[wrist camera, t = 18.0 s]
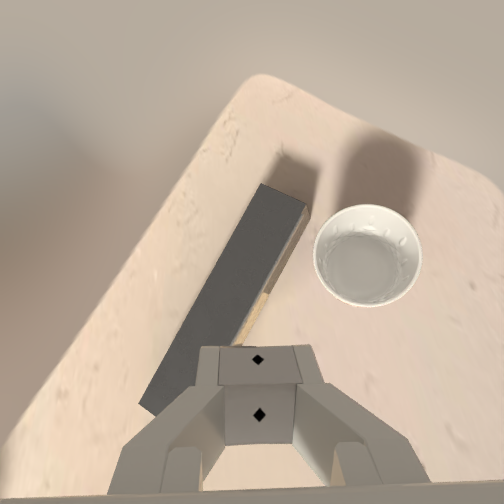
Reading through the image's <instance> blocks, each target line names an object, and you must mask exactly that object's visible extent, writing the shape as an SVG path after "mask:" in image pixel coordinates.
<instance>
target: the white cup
mask: <svg viewBox="0 0 504 504" xmlns="http://www.w3.org/2000/svg"><path fill="white" fill-rule="evenodd" d="M422 260H423V253H422V246H421V242H420V239H419V237H418V234H417V233H416V231H415V229H414V228H413V226H412V225H411V224H410V223H409V221H408V220H407V219H405V218H404V217H403V216H402V215H400V214H399V213H397V212H396V211H394V210H392V209H390V208H387V207H384V206H380V205H375V204H359V205H353V206H350V207H347V208H344V209H342V210H340V211H338V212H337V213H335V214H334V215H333V216H331V217H330V218H329V219H328V220H327V221H326V222H325V223H324V224H323V226H322V227H321V229H320V230H319V232H318V234H317V236H316V239H315V242H314V247H313V262H314V267H315V270H316V273H317V275H318V277H319V279H320V281H321V283H322V284H323V285H324V287H325V288H326V289H327V290H328V291H329V292H330V293H331V294H332V295H333V296H334V297H335V298H337V299H338V300H340V301H342V302H343V303H346V304H348V305H351V306H355V307H376V306H382V305H386V304H389V303H391V302H393V301H395V300H397V299H399V298H400V297H402V296H403V295H404V294H405V293H407V292H408V291H409V290H410V288H411V287H412V286H413V285H414V283H415V282H416V280H417V278H418V276H419V273H420V270H421V267H422Z"/></svg>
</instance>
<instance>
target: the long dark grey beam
mask: <svg viewBox="0 0 504 504" xmlns="http://www.w3.org/2000/svg"><path fill="white" fill-rule="evenodd" d="M309 220H310V216H309V212H308V208H307V205H306V204H305V203H303V202H301V201H299V200H297V199H294V198H292V197H290V196H288V195H286V194H283V193H281V192H279V191H277V190H275V189H273V188H270V187H268V186H266V185H264V184H262V183H261V184H260V186H259V188H258V189H257V191H256V193H255V195H254V197H253V198H252V200H251V202H250V204H249V206H248V207H247V209H246V211H245V213H244V215H243V216H242V218H241V220H240V222H239V224H238V225H237V227H236V229H235V231H234V232H233V234H232V236H231V238H230V240H229V241H228V243H227V245H226V247H225V249H224V250H223V252H222V254H221V256H220V258H219V259H218V261H217V263H216V265H215V267H214V268H213V270H212V272H211V274H210V276H209V277H208V279H207V281H206V283H205V285H204V286H203V288H202V290H201V292H200V294H199V295H198V297H197V299H196V301H195V303H194V304H193V306H192V308H191V310H190V312H189V313H188V315H187V317H186V319H185V321H184V322H183V324H182V326H181V328H180V330H179V331H178V333H177V335H176V337H175V339H174V340H173V342H172V344H171V346H170V348H169V349H168V351H167V353H166V355H165V357H164V358H163V360H162V362H161V364H160V366H159V367H158V369H157V371H156V373H155V375H154V376H153V378H152V380H151V382H150V384H149V385H148V387H147V389H146V391H145V393H144V394H143V396H142V398H141V400H140V402H139V403H138V404H140V405H141V406H142V407H144V408H145V409H146V410H148V411H149V412H150V413H152V414H153V415H154V416H158V415H159V414H160V413H161V412H162V411H163V410H164V409H165V408H166V407H167V406H168V405H170V404H171V403H172V402H173V401H174V400H175V399H176V398H177V397H178V396H179V395H181V394H182V393H183V392H184V391H185V390H186V389H187V388H188V387H189V386H195V383H196V376H197V368H198V361H199V354H200V348H201V347H202V346H219V347H220V346H242V344H243V342H244V341H245V339H246V337H247V335H248V333H249V331H250V330H251V328H252V326H253V324H254V322H255V320H256V318H257V317H258V315H259V313H260V311H261V309H262V307H263V306H264V304H265V302H266V300H267V298H268V296H269V294H270V292H271V290H272V289H273V287H274V285H275V283H276V281H277V279H278V278H279V276H280V274H281V272H282V270H283V268H284V267H285V265H286V263H287V261H288V259H289V257H290V255H291V254H292V252H293V250H294V248H295V246H296V244H297V243H298V241H299V239H300V237H301V235H302V233H303V232H304V230H305V228H306V226H307V224H308V222H309Z"/></svg>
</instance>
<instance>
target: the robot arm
mask: <svg viewBox="0 0 504 504" xmlns="http://www.w3.org/2000/svg"><path fill="white" fill-rule="evenodd" d="M248 444H292V446H293V447H294V448H295V449H296V450H297V452H298V453H299V454H300V455H301V457H302V458H303V459H304V460H305V462H306V463H307V464H308V465H309V466H310V468H311V469H312V470H313V471H314V473H315V474H316V475H317V476H318V477H319V479H320V480H321V481H322V482H323V484H324V485H325V486H323V487H297V488H272V489H246V490H221V491H203V481H204V480H205V478H206V477H207V475H208V473H209V472H210V470H211V469H212V467H213V466H214V464H215V463H216V461H217V459H218V458H219V456H220V455H221V453H222V452H223V450H224V449H225V446H231V445H248ZM0 504H504V480H487V481H462V482H434V483H431V481H430V479H429V477H428V475H427V474H426V472H425V470H424V468H423V466H422V464H421V463H420V461H419V459H418V457H417V455H416V454H415V452H414V450H413V448H412V446H411V444H410V443H409V441H408V439H407V438H405V437H404V436H403V435H401V434H400V433H399V432H397V431H396V430H394V429H393V428H392V427H390V426H389V425H387V424H386V423H385V422H383V421H382V420H381V419H379V418H378V417H376V416H375V415H374V414H372V413H371V412H369V411H368V410H367V409H365V408H364V407H362V406H361V405H360V404H358V403H357V402H356V401H354V400H353V399H351V398H350V397H349V396H347V395H346V394H344V393H343V392H342V391H340V390H339V389H338V388H336V387H335V386H333V385H332V384H331V383H325V382H324V380H323V377H322V374H321V371H320V368H319V366H318V363H317V360H316V357H315V354H314V352H313V349H312V346H311V345H309V344H307V345H292V346H264V347H256V346H220V347H219V346H202V347H201V348H200V354H199V361H198V368H197V376H196V383H195V386H189V387H188V388H187V389H186V390H185V391H184V392H183V393H182V394H181V395H179V396H178V397H177V398H176V399H175V400H174V401H173V402H172V403H171V404H170V405H168V406H167V407H166V408H165V409H164V410H163V411H162V412H161V413H160V414H159V415H158V416H156V417H155V418H154V419H153V420H152V421H151V422H150V423H149V424H148V425H147V426H145V427H144V428H143V429H142V430H141V431H140V432H139V433H138V434H137V435H136V436H134V437H133V438H132V439H131V440H130V441H129V442H128V443H127V444H126V445H125V446H123V448H122V451H121V454H120V457H119V460H118V463H117V466H116V469H115V472H114V475H113V478H112V481H111V484H110V487H109V490H108V493H107V495H89V496H63V497H36V498H10V499H0Z"/></svg>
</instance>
